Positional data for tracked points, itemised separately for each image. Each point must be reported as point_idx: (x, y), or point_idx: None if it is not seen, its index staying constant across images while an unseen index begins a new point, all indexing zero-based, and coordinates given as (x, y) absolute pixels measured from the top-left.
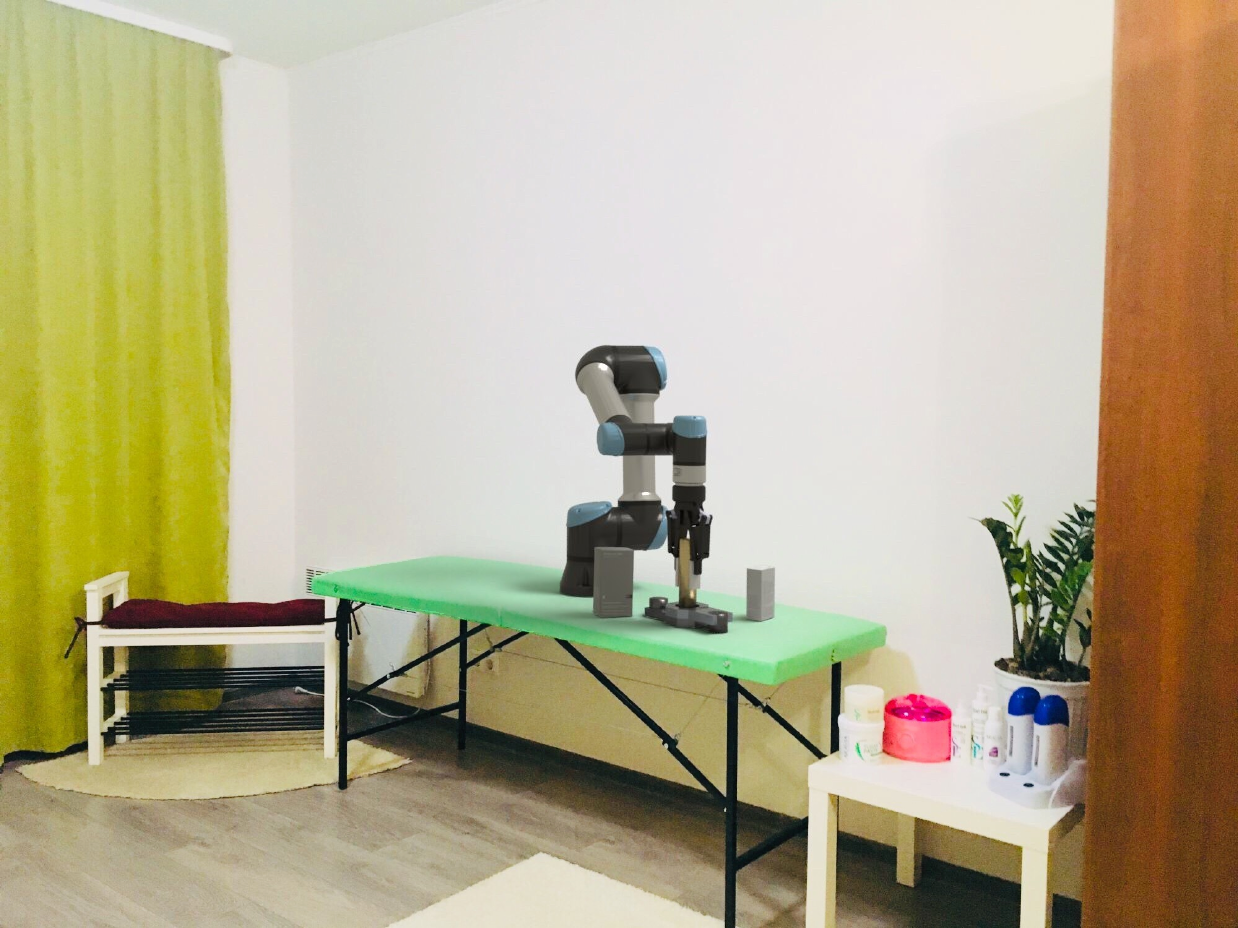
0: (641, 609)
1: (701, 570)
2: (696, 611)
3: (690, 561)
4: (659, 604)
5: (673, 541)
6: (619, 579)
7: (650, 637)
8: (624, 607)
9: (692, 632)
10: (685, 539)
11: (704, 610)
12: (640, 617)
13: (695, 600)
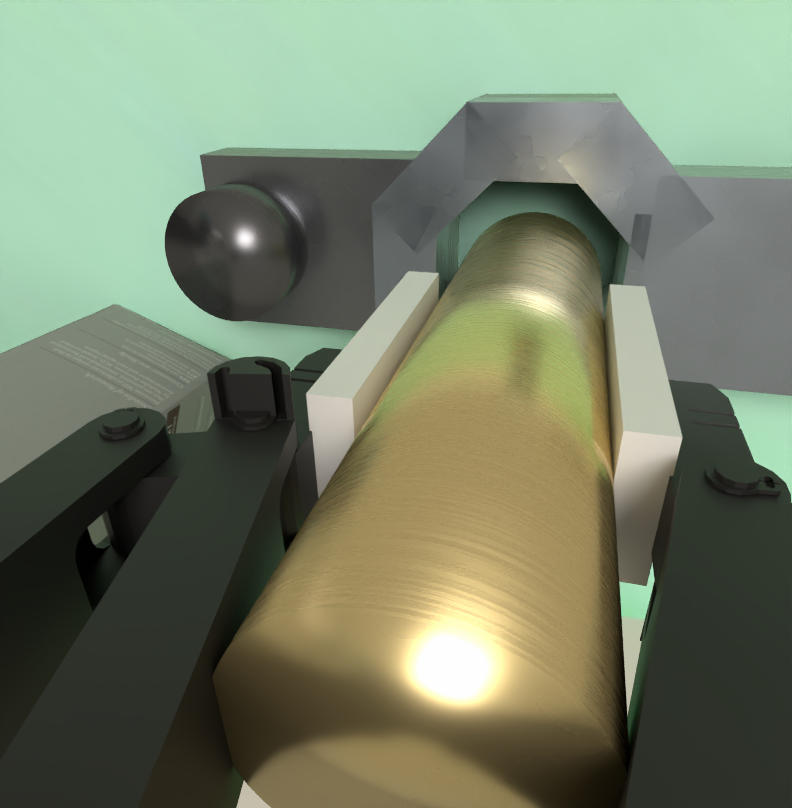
0: (100, 194)
1: (731, 417)
2: (722, 377)
3: (619, 572)
4: (289, 290)
5: (82, 626)
6: (93, 532)
7: (634, 595)
8: (204, 420)
9: (733, 397)
10: None
11: (751, 310)
12: (269, 342)
13: (599, 273)
